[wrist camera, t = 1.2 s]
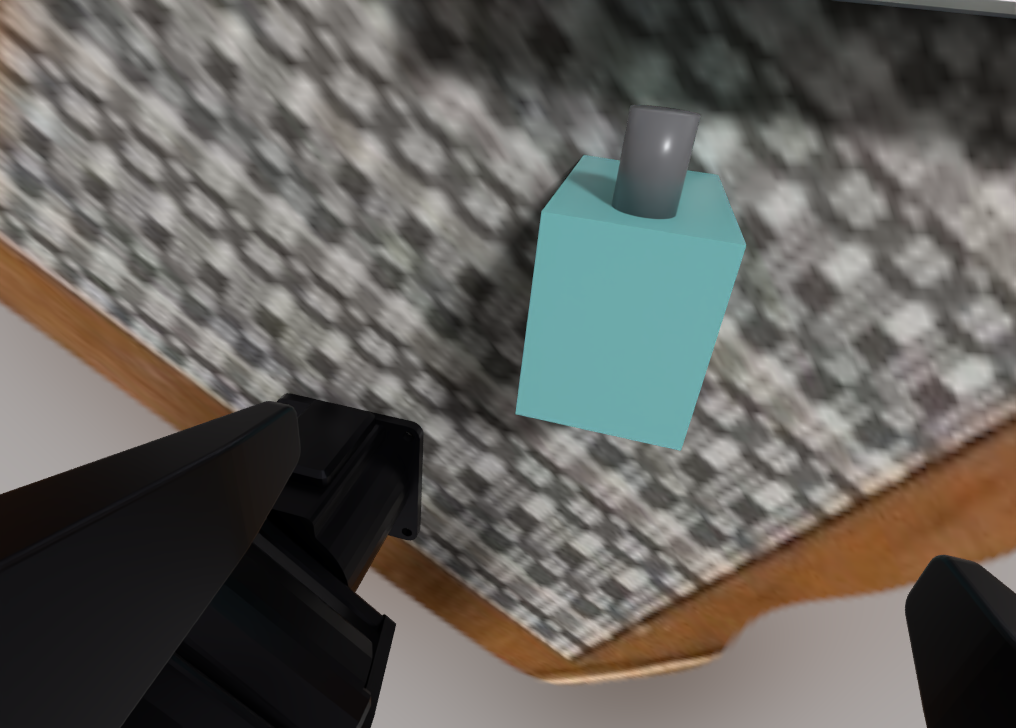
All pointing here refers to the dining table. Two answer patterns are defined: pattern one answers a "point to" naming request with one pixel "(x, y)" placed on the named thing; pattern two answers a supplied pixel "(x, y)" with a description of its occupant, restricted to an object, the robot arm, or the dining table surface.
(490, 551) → the dining table surface
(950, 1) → the square hole tray
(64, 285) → the dining table surface
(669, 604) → the dining table surface
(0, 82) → the dining table surface
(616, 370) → the teal plug
